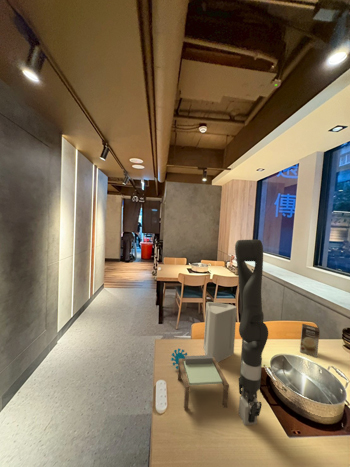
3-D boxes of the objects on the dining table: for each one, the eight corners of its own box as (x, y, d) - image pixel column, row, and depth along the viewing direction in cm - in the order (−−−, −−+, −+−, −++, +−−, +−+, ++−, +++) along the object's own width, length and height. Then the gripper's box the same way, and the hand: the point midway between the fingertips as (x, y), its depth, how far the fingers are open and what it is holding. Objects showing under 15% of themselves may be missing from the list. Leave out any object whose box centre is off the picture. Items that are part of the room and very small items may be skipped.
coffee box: (299, 352, 130) (301, 326, 129) (299, 347, 135) (301, 323, 135) (317, 358, 125) (319, 331, 124) (317, 352, 130) (319, 327, 130)
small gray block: (250, 412, 84) (251, 395, 84) (256, 424, 79) (258, 406, 79) (238, 413, 84) (239, 396, 84) (244, 425, 79) (245, 407, 79)
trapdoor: (183, 363, 100) (183, 355, 100) (211, 362, 102) (212, 355, 102) (189, 385, 86) (190, 376, 86) (222, 383, 88) (222, 375, 88)
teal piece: (172, 369, 105) (171, 348, 112) (168, 372, 109) (167, 351, 115) (192, 369, 108) (189, 347, 115) (188, 371, 112) (185, 351, 119)
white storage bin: (215, 342, 136) (217, 299, 135) (234, 353, 125) (237, 307, 124) (193, 351, 124) (196, 305, 123) (213, 365, 113) (216, 314, 112)
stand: (177, 377, 102) (178, 358, 101) (213, 376, 104) (214, 357, 104) (184, 410, 84) (185, 387, 83) (227, 407, 86) (228, 384, 86)
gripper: (270, 386, 75) (267, 432, 75) (250, 360, 89) (247, 399, 89) (250, 387, 73) (247, 434, 74) (233, 361, 88) (231, 400, 88)
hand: (247, 414), depth 82 cm, fingers closed on small gray block, 5 cm apart
